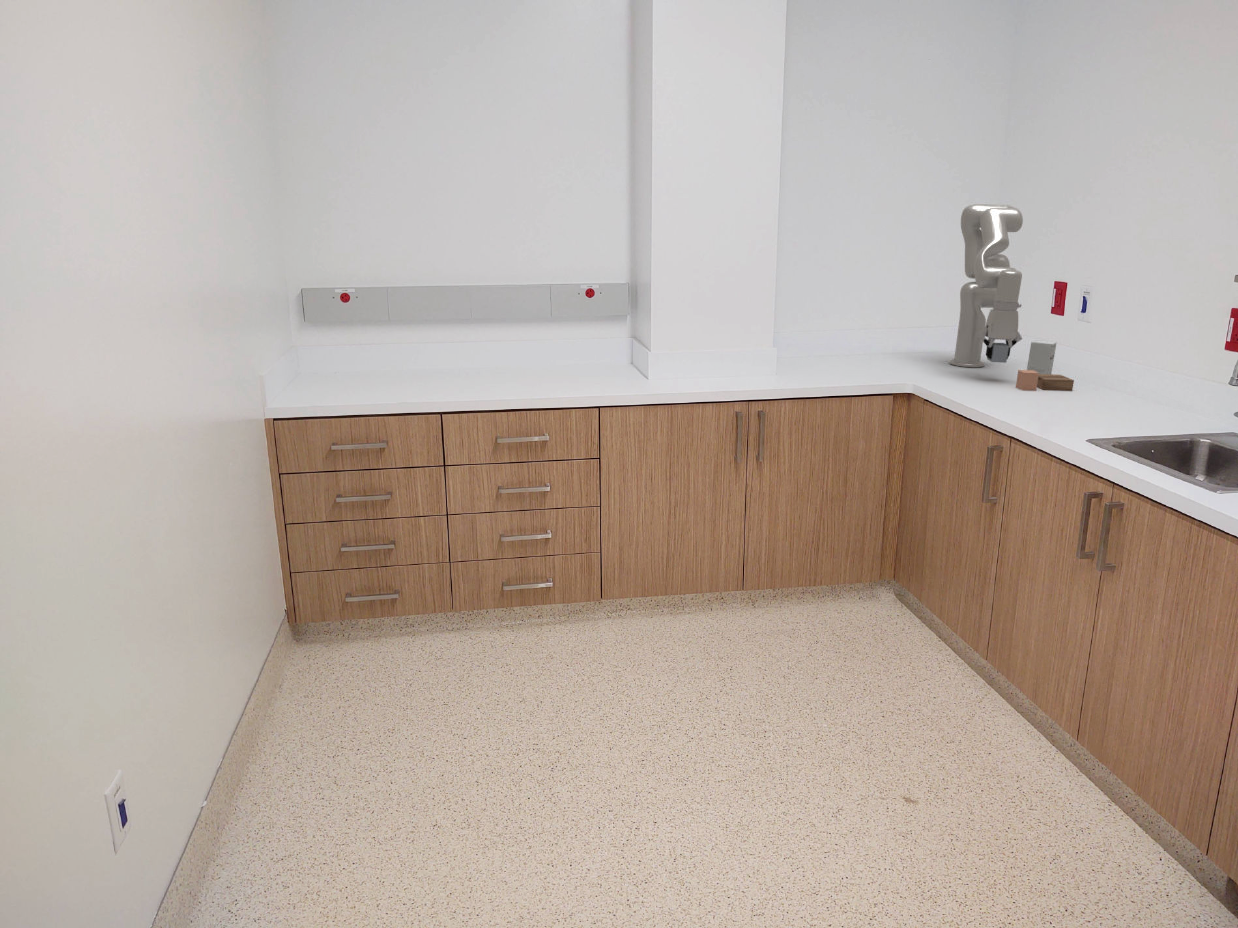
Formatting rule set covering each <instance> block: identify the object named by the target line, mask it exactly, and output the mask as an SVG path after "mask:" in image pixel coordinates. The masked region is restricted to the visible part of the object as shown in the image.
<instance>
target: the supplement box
mask: <svg viewBox="0 0 1238 928" xmlns="http://www.w3.org/2000/svg"><path fill="white" fill-rule="evenodd" d="M1056 347H1057V341H1048V340H1039V339H1038V340H1033V341H1031V342H1030V348H1029V355H1028V360H1027V366H1026V370H1033V371H1036V372H1038V373H1039V374H1052V371H1053V368H1054V367H1053V366H1054V361H1055V360H1054V359H1055V354H1056Z"/></svg>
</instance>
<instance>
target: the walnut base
mask: <svg viewBox="0 0 1238 928" xmlns="http://www.w3.org/2000/svg"><path fill="white" fill-rule="evenodd" d="M1074 383H1075V380H1074V379H1072V378H1070V377H1067V376H1064V375H1062V374H1055V373H1054V374H1052V373H1051V374H1039V376H1038V383H1037V389H1039V390H1042V391H1058V392H1059V391H1061V392H1062V391H1063V392H1067V391H1068V392H1072V391H1073V388H1074Z"/></svg>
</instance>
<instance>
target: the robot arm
mask: <svg viewBox="0 0 1238 928" xmlns="http://www.w3.org/2000/svg"><path fill="white" fill-rule="evenodd" d="M1023 222H1024V218H1023V213H1022V212H1021V210H1020V209H1019V208H1017V207H1015V206H1013V205H1008V204H1007V205H1005V204H986V203H985V204H984V203H978V204H971V205H968V206H966V207H965V208H964V209H963V210H962V213H961V217H960V229H961V233H962V237H963V240H964V241H963V243H964V273H965V276H966V277H967V278H968V279H973V280H974V281H969V282H966V283H965V284H963V285H962V287H961V289H960V293H959V296H960V297H959V298H960V301H959V302H960V308H959V309H960V311H959V320H958V321H959V322H958V329H957V335H956V336H957V337H956V342H955V343H956V344H955V351H954V359H950V360H949V364H950V365H952V366H956V367H963V368H983V367H985V362H983V361H982V360H981V359H982V351H983V345H984V344H985V346H986V352H985V356H986V359H987V358H989V359H991V357H992V351H993V348H992V345H993V343H995V341H996V340H1000V341H1001V340H1005V344H1007V345H1009V349H1008V355H1007V360H1009V357H1010V355H1011V349H1012V348H1013V347H1014V346H1015V345H1016V344H1017V343H1018V342H1021V340H1023V337H1022V335H1021V334H1020V332H1019V311H1018V308H1020V309H1021V308H1022V303H1019V297H1020V292H1021V291H1020V290H1021V286H1022V278H1023V273H1022V272H1021V271H1019V270H1017V269H1016V268H1015V267H1011V264H1010V263H1011V262H1010V260H1009V258H1008V256H1006V255H1005V254H1001V253H1003V252H1004V251H1006V250H1007V249H1008V248H1009V246H1010V239H1009V234H1008V233H1017V232H1019V231H1020V230H1021V229H1022V226H1023ZM984 308H986V309H990V308H991V309H990V310H989V312H988V316H987V318H986V316H985V313H983V311H982V309H984ZM986 337H987V338H988V339H987V338H986Z"/></svg>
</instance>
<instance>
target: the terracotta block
mask: <svg viewBox="0 0 1238 928" xmlns="http://www.w3.org/2000/svg"><path fill="white" fill-rule="evenodd" d="M1038 376H1039V373H1038V372H1036V371H1033V370H1027V369H1018V371H1017V377H1016V383H1015V388H1017V389H1018V388H1019V389H1018V390H1020V389H1021V390H1020V391H1037V389H1038V388H1037V383H1038Z"/></svg>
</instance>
